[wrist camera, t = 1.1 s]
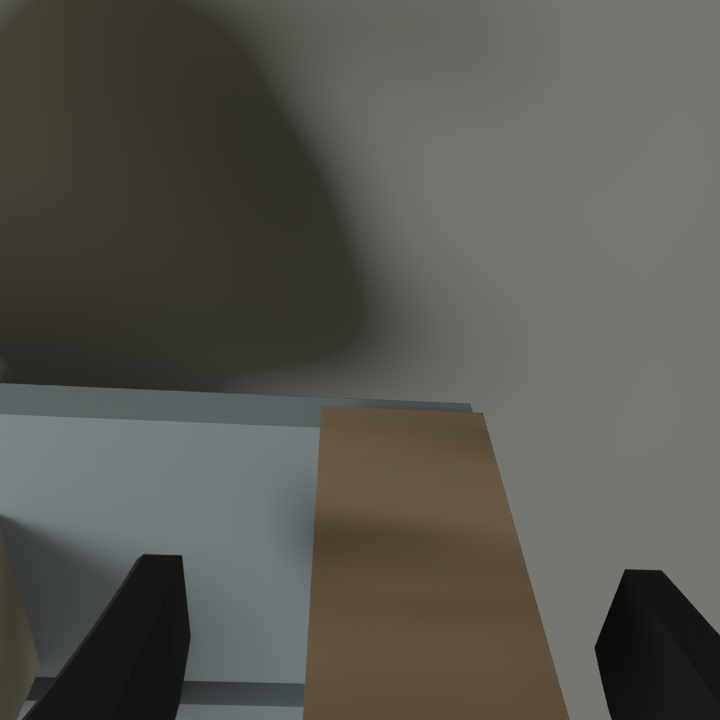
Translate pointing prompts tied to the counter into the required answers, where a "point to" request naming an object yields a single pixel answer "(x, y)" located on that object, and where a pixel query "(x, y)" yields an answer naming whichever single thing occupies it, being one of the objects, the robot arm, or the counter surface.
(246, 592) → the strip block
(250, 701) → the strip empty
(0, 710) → the block
